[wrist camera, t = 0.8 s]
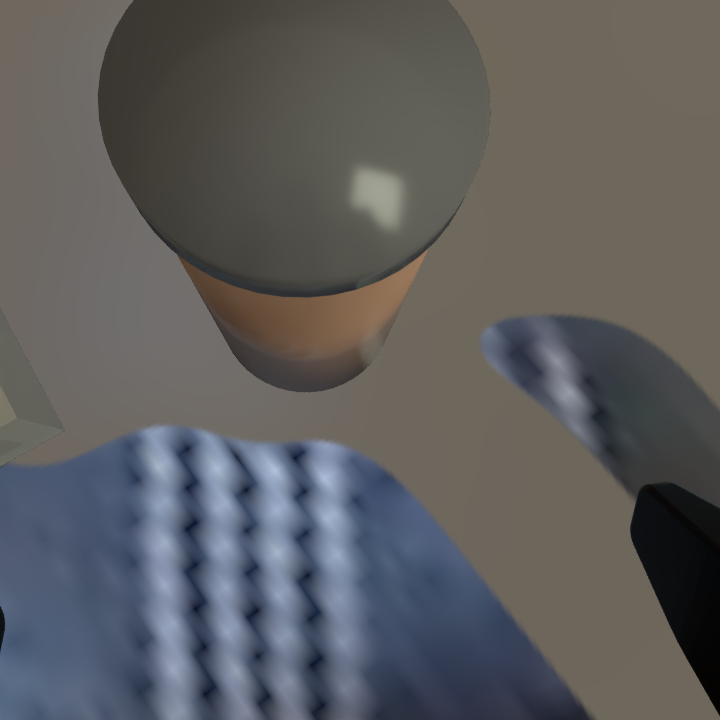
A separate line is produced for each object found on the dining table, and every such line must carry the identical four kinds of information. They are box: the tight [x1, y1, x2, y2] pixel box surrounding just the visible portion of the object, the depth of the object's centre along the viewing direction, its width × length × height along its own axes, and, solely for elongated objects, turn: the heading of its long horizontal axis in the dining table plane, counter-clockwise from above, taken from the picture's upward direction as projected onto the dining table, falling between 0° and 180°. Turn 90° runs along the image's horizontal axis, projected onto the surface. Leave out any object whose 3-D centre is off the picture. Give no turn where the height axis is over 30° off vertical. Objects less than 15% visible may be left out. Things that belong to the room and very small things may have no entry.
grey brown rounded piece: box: [98, 0, 491, 392], centre depth 17 cm, size 7×7×12 cm
